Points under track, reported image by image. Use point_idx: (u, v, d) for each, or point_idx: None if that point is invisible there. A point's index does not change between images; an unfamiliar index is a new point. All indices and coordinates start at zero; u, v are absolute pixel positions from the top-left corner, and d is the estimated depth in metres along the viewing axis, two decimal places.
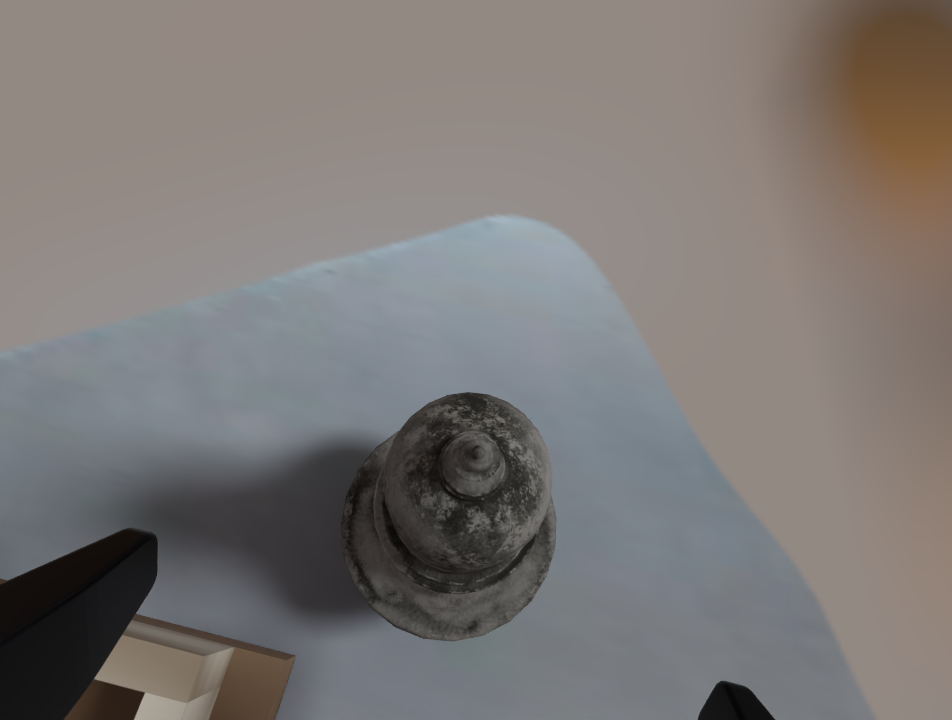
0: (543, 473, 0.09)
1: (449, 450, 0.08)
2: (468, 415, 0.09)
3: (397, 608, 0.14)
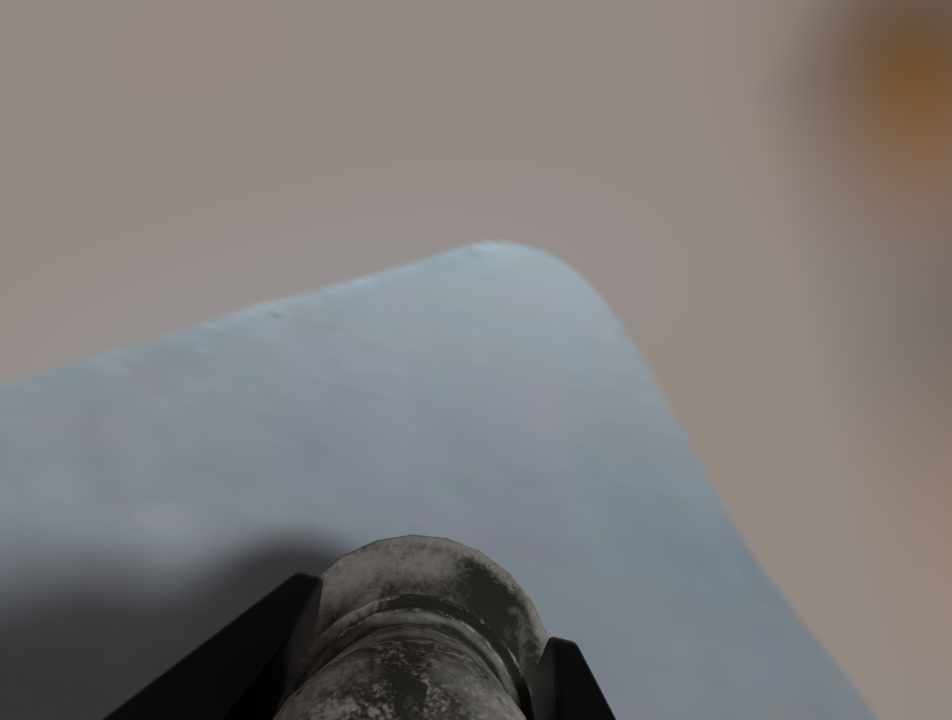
0: None
1: None
2: None
3: None
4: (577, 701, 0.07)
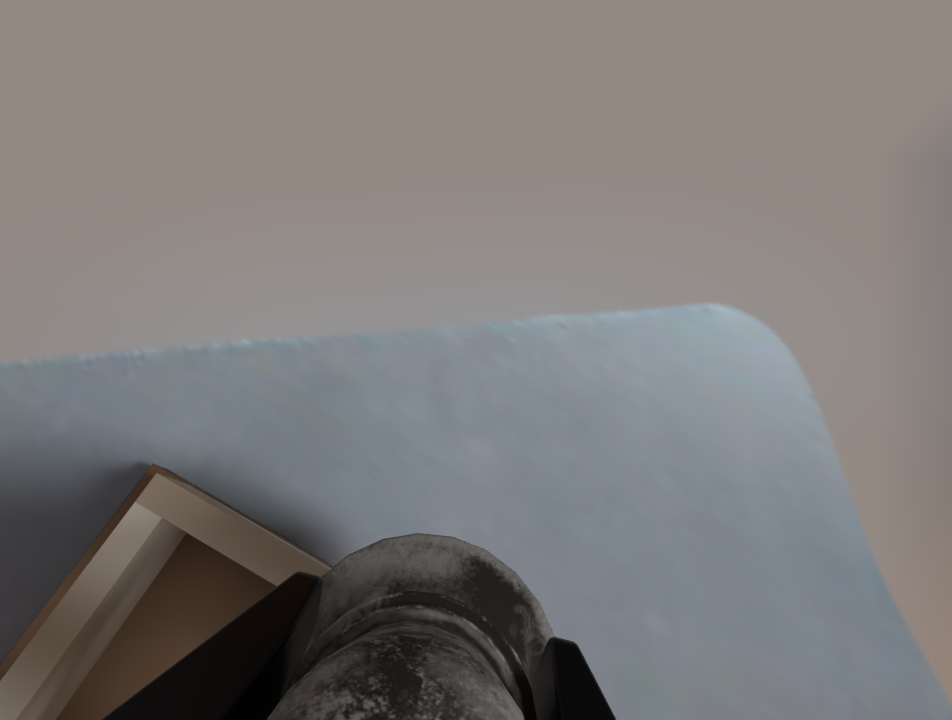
0: None
1: None
2: None
3: None
4: (577, 701, 0.07)
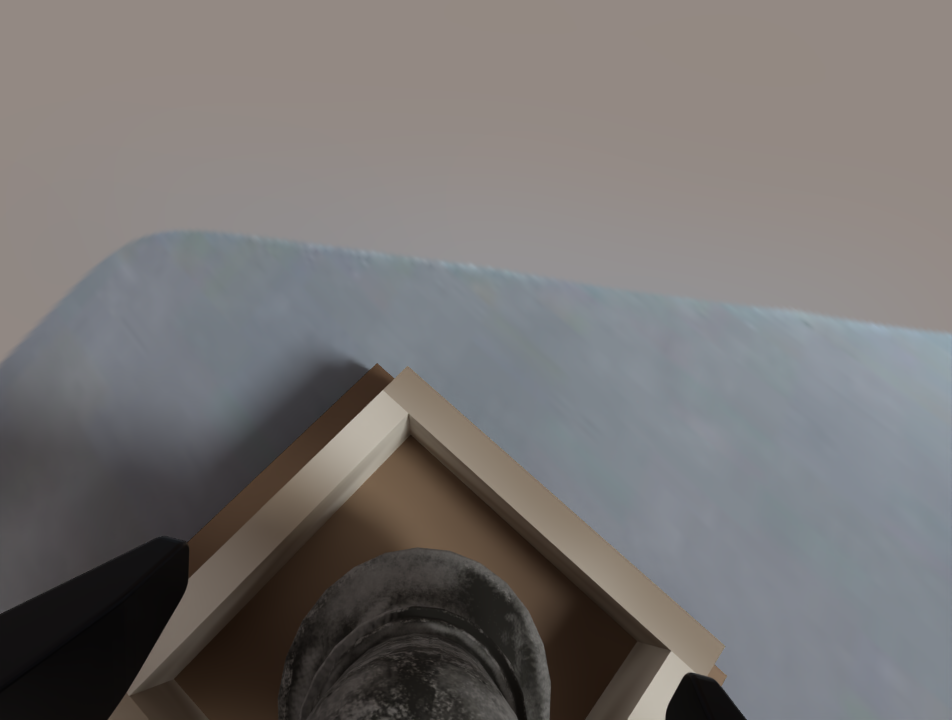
0: None
1: None
2: None
3: None
4: None
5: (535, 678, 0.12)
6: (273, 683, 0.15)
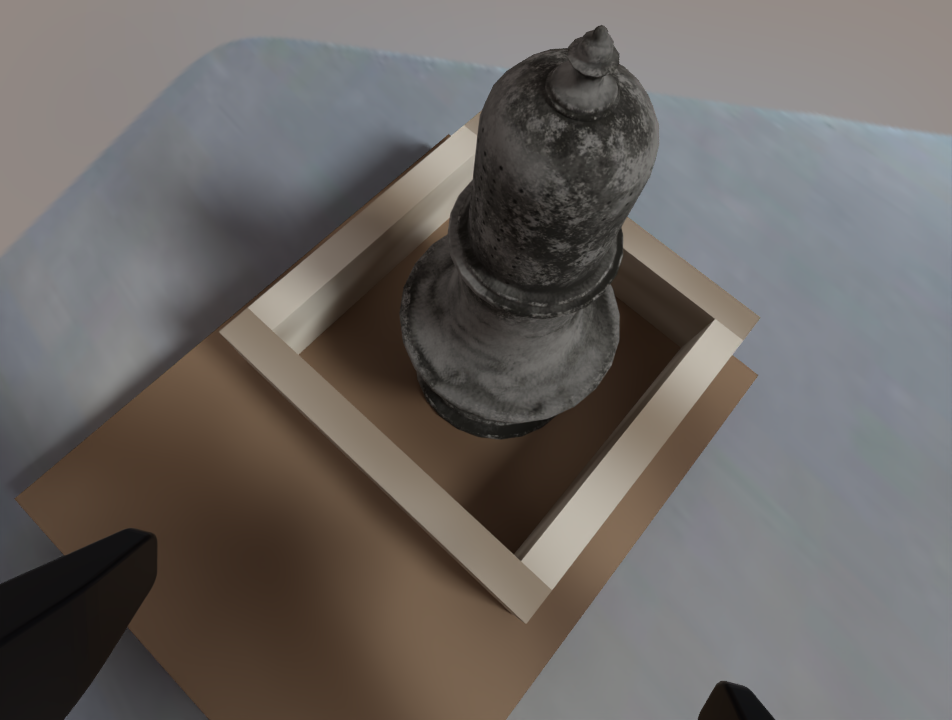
0: (653, 116, 0.08)
1: (557, 71, 0.08)
2: None
3: (460, 389, 0.14)
4: None
5: (607, 307, 0.15)
6: (375, 365, 0.18)
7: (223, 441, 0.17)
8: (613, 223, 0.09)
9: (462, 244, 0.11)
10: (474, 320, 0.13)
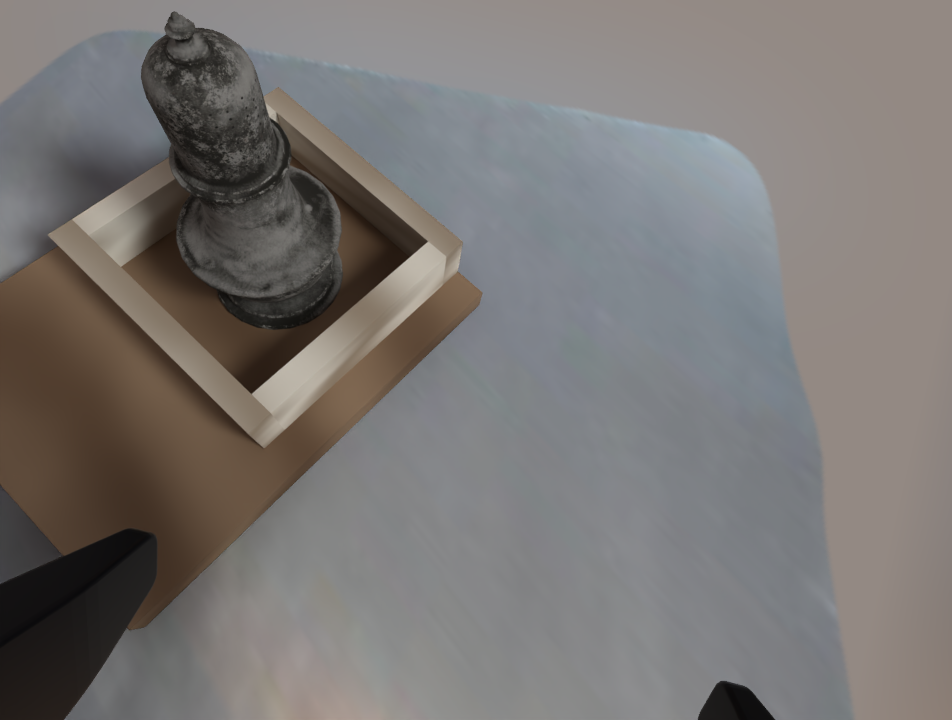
0: (240, 67, 0.14)
1: None
2: None
3: (211, 272, 0.20)
4: None
5: (331, 223, 0.21)
6: (183, 274, 0.23)
7: (56, 323, 0.22)
8: (231, 132, 0.15)
9: (175, 155, 0.17)
10: (209, 218, 0.19)
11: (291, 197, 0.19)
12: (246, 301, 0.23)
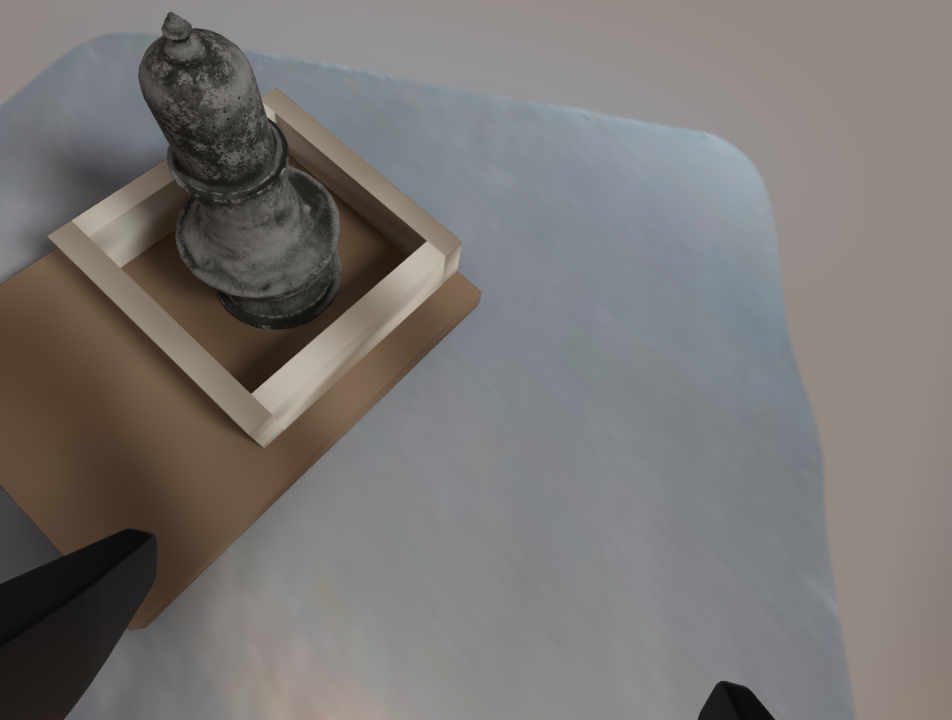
0: (237, 67, 0.14)
1: (170, 38, 0.14)
2: None
3: (210, 273, 0.20)
4: None
5: (330, 223, 0.21)
6: (183, 275, 0.23)
7: (56, 324, 0.22)
8: (228, 132, 0.15)
9: (173, 156, 0.17)
10: (207, 218, 0.19)
11: (289, 197, 0.19)
12: (245, 301, 0.23)
